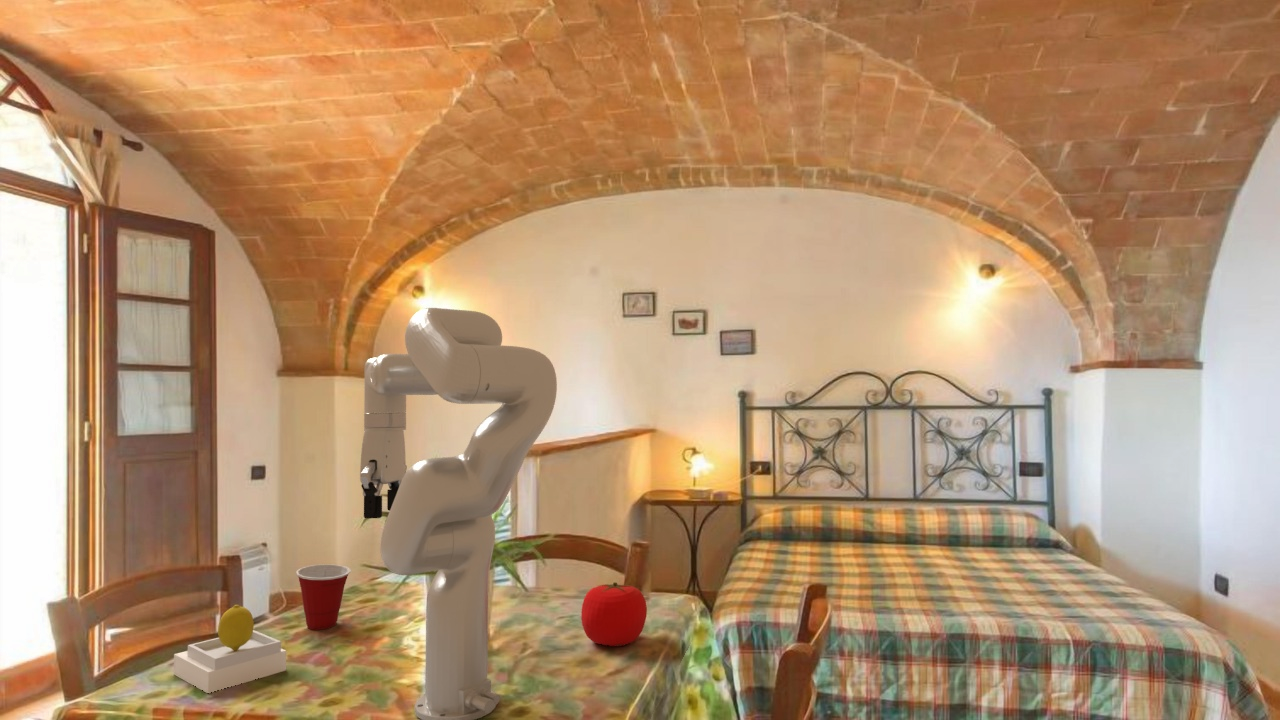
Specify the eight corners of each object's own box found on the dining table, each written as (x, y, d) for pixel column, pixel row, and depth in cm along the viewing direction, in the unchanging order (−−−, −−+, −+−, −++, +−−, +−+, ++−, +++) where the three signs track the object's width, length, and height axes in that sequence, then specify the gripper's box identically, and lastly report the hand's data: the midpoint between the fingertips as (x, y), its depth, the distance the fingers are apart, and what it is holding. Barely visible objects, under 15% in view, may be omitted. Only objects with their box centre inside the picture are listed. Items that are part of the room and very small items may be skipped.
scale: (285, 670, 132) (286, 639, 132) (207, 693, 121) (208, 660, 122) (249, 653, 140) (249, 624, 140) (173, 674, 130) (174, 643, 130)
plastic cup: (319, 636, 150) (321, 577, 151) (283, 629, 155) (284, 571, 155) (360, 622, 160) (362, 566, 160) (325, 615, 164) (326, 561, 165)
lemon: (237, 657, 127) (238, 610, 127) (209, 654, 128) (211, 608, 128) (260, 646, 132) (261, 601, 133) (233, 644, 133) (234, 599, 134)
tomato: (571, 651, 142) (572, 589, 142) (593, 629, 155) (593, 573, 155) (636, 656, 138) (636, 594, 139) (652, 633, 152) (652, 576, 152)
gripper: (386, 422, 148) (385, 507, 147) (343, 424, 131) (342, 521, 130) (422, 421, 147) (422, 507, 146) (384, 423, 130) (383, 521, 129)
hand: (384, 514), depth 138 cm, fingers open, 9 cm apart
